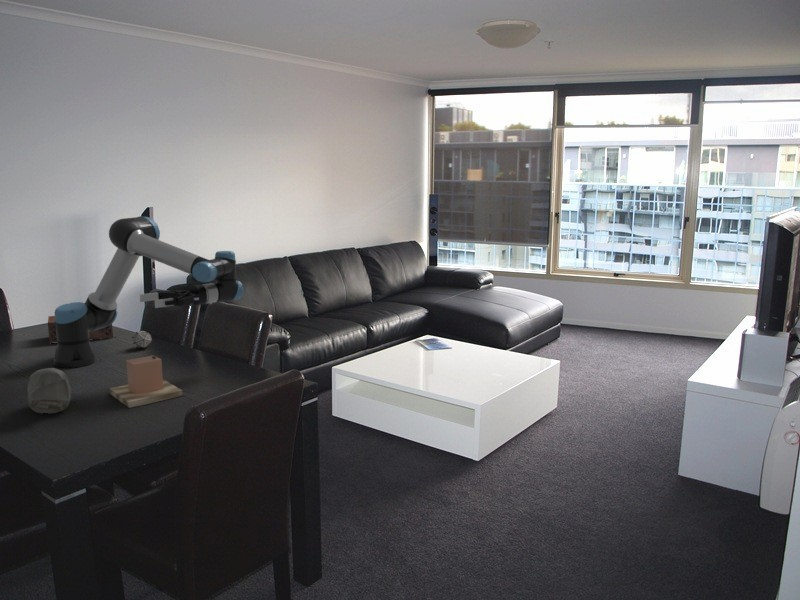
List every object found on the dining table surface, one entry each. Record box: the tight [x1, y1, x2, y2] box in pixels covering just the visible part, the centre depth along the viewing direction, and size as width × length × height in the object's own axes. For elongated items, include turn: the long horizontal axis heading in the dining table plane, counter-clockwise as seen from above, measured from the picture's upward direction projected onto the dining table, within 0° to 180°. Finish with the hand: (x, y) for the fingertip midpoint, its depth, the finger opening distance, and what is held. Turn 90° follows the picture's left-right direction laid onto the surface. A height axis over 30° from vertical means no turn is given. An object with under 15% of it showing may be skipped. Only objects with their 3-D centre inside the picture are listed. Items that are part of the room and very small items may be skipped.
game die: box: [131, 328, 155, 350], centre depth 283 cm, size 9×8×10 cm
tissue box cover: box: [47, 315, 114, 344], centre depth 300 cm, size 26×14×10 cm, turn 116°
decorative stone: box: [27, 367, 72, 414], centre depth 210 cm, size 12×17×15 cm
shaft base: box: [109, 378, 183, 409], centre depth 224 cm, size 18×18×10 cm
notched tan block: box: [126, 354, 164, 395], centre depth 224 cm, size 7×9×11 cm
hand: (147, 301), depth 235 cm, fingers open, 13 cm apart
